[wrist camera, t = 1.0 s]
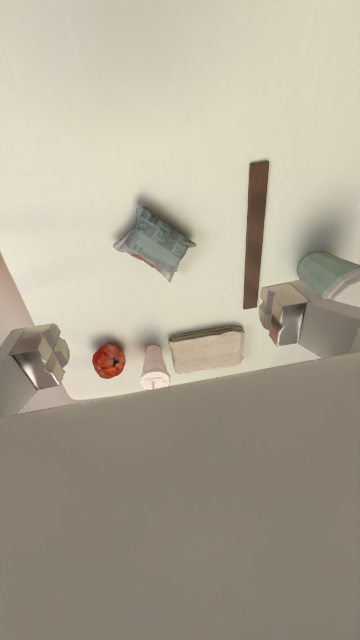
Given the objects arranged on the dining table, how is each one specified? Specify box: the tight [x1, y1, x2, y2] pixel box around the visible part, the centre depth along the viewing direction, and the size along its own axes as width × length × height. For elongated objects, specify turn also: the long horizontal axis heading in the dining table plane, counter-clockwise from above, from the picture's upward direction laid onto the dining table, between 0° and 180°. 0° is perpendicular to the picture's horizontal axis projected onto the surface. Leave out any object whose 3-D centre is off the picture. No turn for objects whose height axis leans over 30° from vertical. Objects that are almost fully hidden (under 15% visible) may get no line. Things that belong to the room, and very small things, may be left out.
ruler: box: [243, 161, 269, 309], centre depth 48 cm, size 28×3×1 cm, turn 7°
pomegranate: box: [92, 344, 125, 379], centre depth 56 cm, size 7×7×10 cm
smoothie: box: [140, 345, 170, 390], centre depth 55 cm, size 6×6×14 cm
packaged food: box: [113, 205, 196, 283], centre depth 43 cm, size 9×12×5 cm
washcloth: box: [168, 326, 244, 374], centre depth 61 cm, size 12×18×3 cm, turn 97°
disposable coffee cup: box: [297, 252, 360, 308], centre depth 46 cm, size 11×11×15 cm
